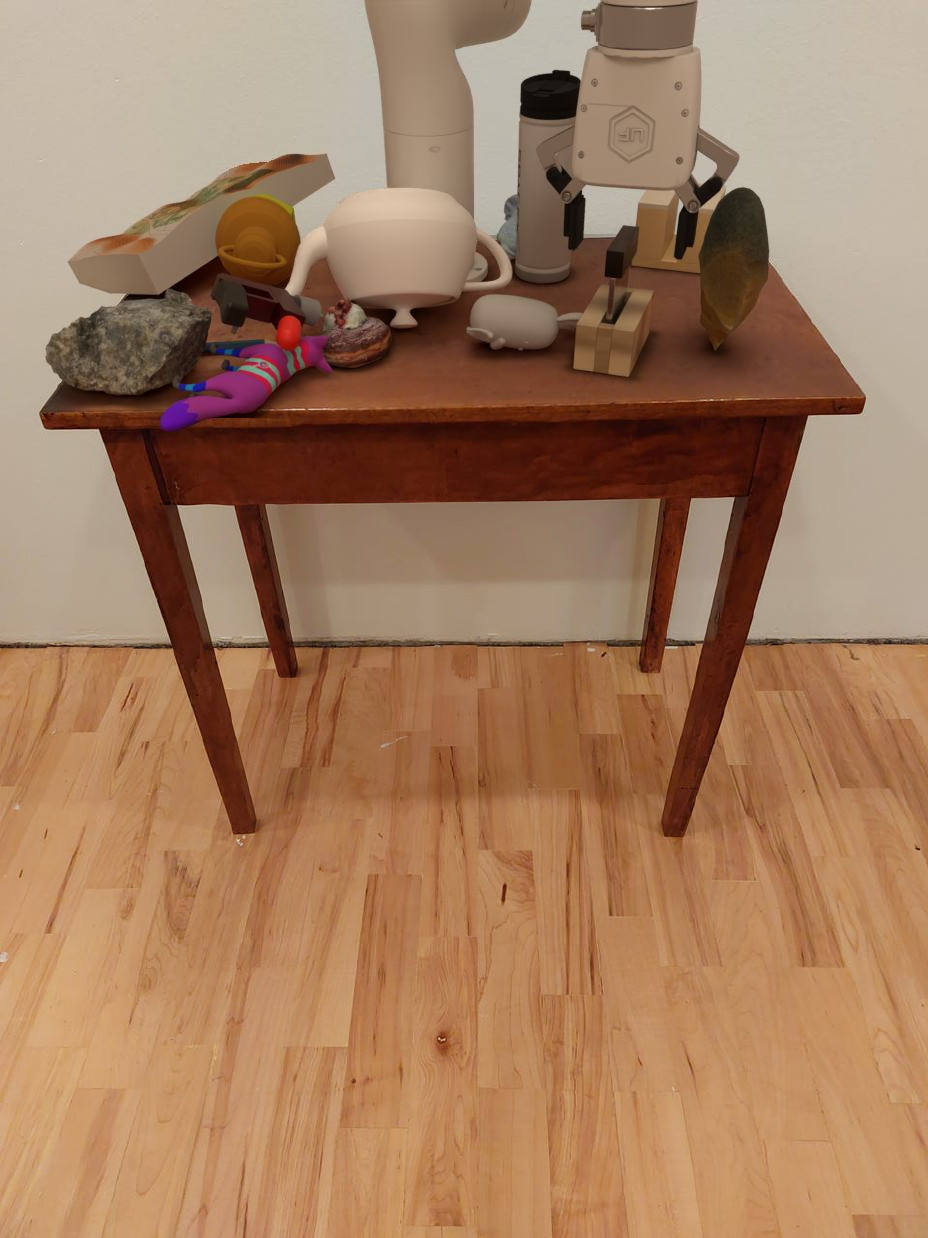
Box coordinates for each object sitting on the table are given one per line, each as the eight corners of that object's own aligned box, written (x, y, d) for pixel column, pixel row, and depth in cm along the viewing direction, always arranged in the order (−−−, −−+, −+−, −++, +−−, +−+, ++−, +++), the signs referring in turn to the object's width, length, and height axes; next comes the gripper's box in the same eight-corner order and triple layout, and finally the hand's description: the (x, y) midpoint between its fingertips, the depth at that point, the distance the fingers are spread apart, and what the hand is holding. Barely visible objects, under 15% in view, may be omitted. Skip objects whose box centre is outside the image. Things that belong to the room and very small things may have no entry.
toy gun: (322, 295, 89) (304, 339, 92) (205, 262, 81) (189, 311, 84) (362, 348, 84) (341, 393, 86) (241, 318, 76) (222, 368, 78)
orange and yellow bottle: (226, 248, 114) (202, 303, 94) (231, 169, 109) (207, 208, 89) (299, 262, 116) (292, 318, 95) (308, 185, 111) (301, 227, 91)
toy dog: (248, 346, 91) (343, 360, 89) (150, 444, 79) (257, 463, 77) (241, 310, 89) (339, 323, 86) (138, 406, 76) (248, 424, 74)
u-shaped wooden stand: (631, 265, 108) (638, 201, 103) (645, 240, 114) (653, 178, 109) (705, 274, 105) (715, 209, 101) (716, 247, 112) (726, 185, 107)
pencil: (130, 354, 91) (283, 345, 92) (128, 358, 90) (282, 349, 91) (127, 346, 90) (281, 336, 91) (126, 350, 89) (281, 340, 91)
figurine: (570, 210, 115) (561, 164, 110) (560, 281, 110) (550, 237, 105) (510, 218, 118) (498, 173, 112) (498, 287, 113) (484, 244, 107)
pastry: (322, 334, 94) (317, 285, 90) (396, 334, 94) (393, 285, 90) (310, 370, 88) (303, 319, 84) (388, 370, 88) (385, 319, 84)
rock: (28, 269, 78) (78, 281, 88) (30, 387, 81) (78, 387, 91) (191, 286, 78) (224, 297, 88) (188, 404, 81) (220, 402, 91)
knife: (612, 367, 88) (624, 251, 81) (596, 365, 88) (606, 250, 81) (627, 337, 93) (639, 226, 86) (611, 335, 93) (622, 224, 86)
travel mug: (578, 267, 107) (591, 71, 94) (558, 287, 103) (569, 84, 90) (528, 259, 109) (535, 67, 96) (506, 279, 105) (510, 79, 92)
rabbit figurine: (469, 329, 86) (593, 347, 87) (473, 278, 87) (597, 297, 88) (460, 357, 92) (577, 374, 93) (465, 309, 93) (580, 326, 94)
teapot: (534, 180, 86) (537, 317, 89) (488, 218, 101) (492, 334, 103) (263, 173, 80) (275, 320, 83) (256, 214, 95) (266, 337, 97)
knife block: (628, 377, 86) (634, 331, 83) (572, 369, 88) (576, 323, 85) (648, 334, 93) (654, 290, 90) (596, 327, 95) (600, 283, 92)
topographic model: (158, 294, 98) (135, 248, 95) (85, 292, 106) (61, 250, 103) (335, 178, 113) (320, 135, 110) (258, 185, 121) (242, 145, 118)
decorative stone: (674, 330, 94) (697, 173, 84) (732, 328, 94) (762, 171, 84) (699, 374, 87) (728, 207, 77) (762, 371, 87) (799, 205, 77)
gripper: (527, 33, 72) (524, 255, 83) (753, 39, 68) (718, 273, 79) (552, 19, 78) (546, 229, 89) (763, 23, 73) (729, 244, 84)
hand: (627, 249), depth 84 cm, fingers open, 9 cm apart
